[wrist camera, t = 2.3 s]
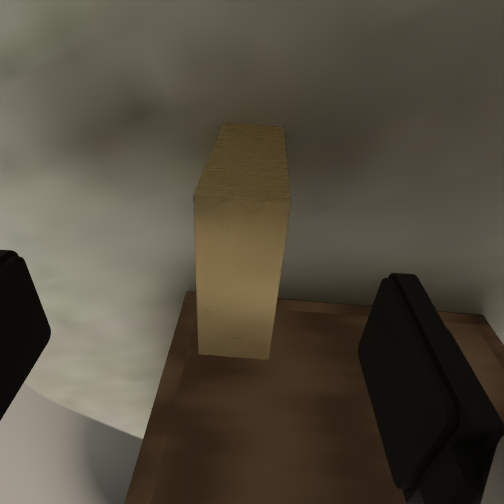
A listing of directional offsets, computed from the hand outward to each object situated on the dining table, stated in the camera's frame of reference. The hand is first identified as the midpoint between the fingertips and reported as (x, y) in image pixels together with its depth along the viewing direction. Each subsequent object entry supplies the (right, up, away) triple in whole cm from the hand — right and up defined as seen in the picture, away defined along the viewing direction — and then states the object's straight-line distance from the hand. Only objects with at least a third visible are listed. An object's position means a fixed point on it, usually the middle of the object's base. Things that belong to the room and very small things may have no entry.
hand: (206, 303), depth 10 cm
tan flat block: (+1, +4, +6) cm, 7 cm away
